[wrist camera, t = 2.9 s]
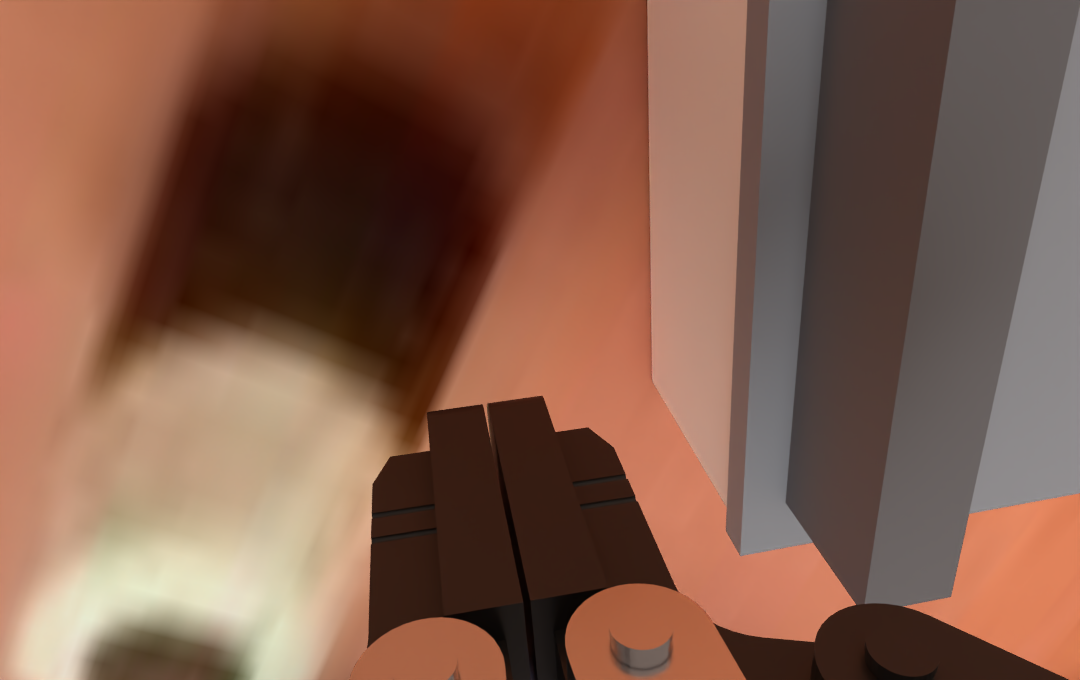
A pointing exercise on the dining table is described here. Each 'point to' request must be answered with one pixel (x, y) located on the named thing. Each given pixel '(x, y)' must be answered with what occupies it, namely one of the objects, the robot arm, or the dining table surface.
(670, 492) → the dining table surface
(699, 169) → the mailer box
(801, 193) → the lid
